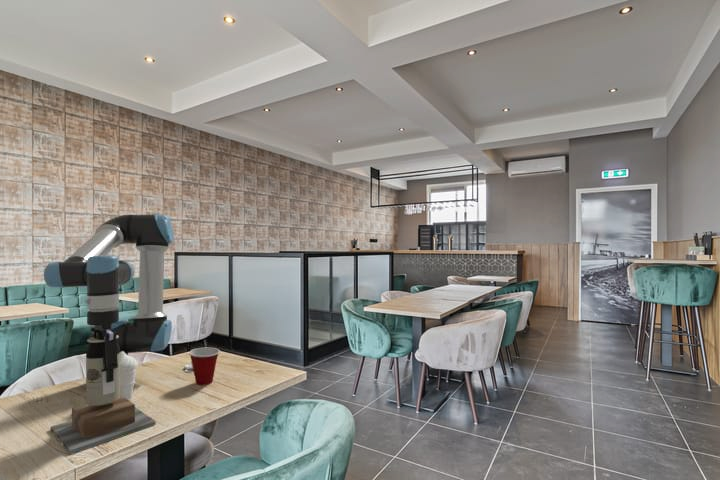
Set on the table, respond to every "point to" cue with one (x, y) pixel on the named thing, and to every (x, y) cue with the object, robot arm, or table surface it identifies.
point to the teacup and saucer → (188, 367)
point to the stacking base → (100, 438)
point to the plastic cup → (204, 364)
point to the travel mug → (99, 374)
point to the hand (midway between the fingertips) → (103, 389)
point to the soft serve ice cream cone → (127, 375)
